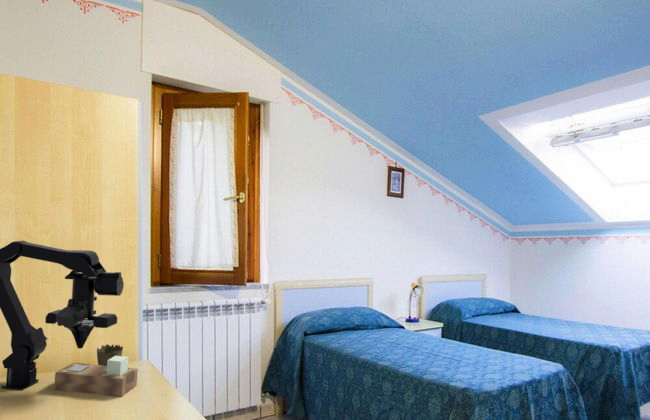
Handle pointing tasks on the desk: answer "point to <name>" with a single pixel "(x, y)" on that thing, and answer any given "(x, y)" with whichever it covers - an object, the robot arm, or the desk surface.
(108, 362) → the sage peg
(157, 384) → the desk surface
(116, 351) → the cup
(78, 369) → the steel peg
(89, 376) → the walnut bar
